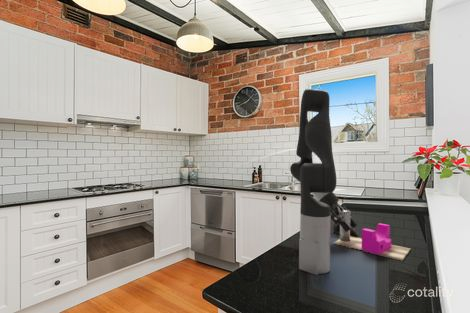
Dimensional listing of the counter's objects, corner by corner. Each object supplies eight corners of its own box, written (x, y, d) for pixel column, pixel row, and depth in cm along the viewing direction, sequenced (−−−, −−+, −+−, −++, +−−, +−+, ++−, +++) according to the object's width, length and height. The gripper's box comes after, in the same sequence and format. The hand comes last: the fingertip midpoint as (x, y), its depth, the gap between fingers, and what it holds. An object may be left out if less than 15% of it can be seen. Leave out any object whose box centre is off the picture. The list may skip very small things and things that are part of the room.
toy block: (378, 254, 97) (379, 233, 97) (361, 249, 102) (361, 229, 101) (396, 245, 106) (396, 226, 106) (379, 241, 111) (379, 223, 111)
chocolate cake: (366, 237, 120) (351, 214, 128) (358, 236, 116) (344, 212, 124) (349, 248, 124) (335, 225, 132) (341, 247, 120) (327, 223, 128)
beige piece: (402, 260, 93) (403, 223, 93) (333, 244, 109) (333, 212, 109) (410, 250, 103) (411, 217, 103) (346, 236, 119) (346, 207, 119)
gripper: (323, 192, 111) (352, 226, 104) (337, 189, 122) (364, 220, 114) (311, 204, 115) (338, 237, 107) (325, 199, 126) (351, 230, 118)
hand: (352, 228), depth 111 cm, fingers open, 7 cm apart
